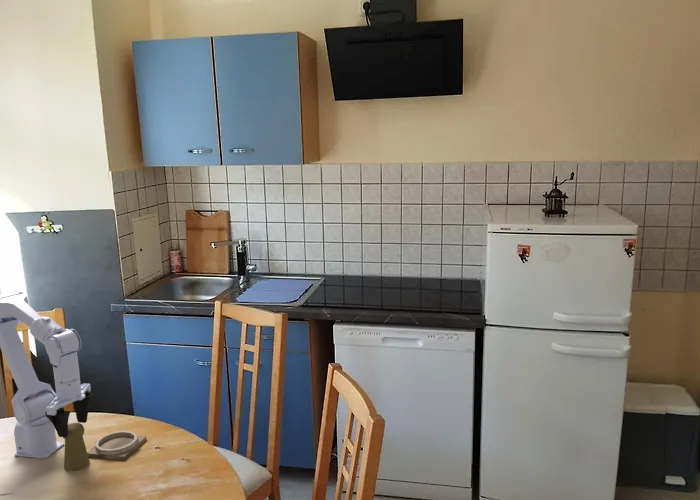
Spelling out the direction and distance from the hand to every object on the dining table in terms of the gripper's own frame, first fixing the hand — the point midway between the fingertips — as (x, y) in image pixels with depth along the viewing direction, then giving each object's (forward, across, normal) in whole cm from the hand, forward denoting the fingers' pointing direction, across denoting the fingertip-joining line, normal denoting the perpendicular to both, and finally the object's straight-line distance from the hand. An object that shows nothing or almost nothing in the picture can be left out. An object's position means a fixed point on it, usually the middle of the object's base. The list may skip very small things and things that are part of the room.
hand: (73, 429), depth 151 cm
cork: (+10, 0, 0) cm, 10 cm away
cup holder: (+10, +10, -6) cm, 15 cm away
